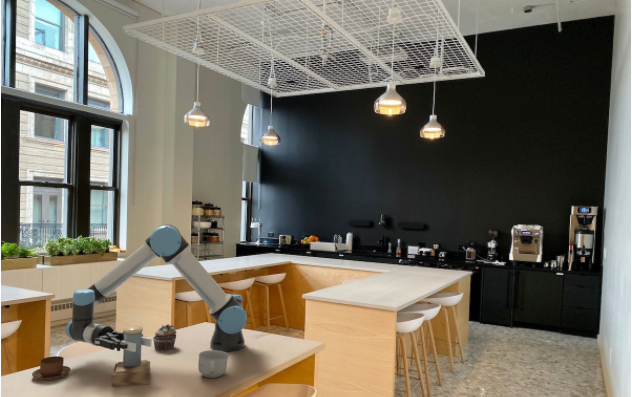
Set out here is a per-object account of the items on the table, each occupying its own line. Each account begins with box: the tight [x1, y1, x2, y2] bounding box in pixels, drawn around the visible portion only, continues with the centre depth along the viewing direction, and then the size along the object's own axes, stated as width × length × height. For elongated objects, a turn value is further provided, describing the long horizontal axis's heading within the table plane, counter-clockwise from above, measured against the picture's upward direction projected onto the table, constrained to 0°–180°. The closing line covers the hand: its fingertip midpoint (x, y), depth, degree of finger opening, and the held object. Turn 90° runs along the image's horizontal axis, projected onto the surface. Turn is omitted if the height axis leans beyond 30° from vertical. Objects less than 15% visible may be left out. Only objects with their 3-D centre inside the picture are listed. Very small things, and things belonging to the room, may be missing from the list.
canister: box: [122, 325, 144, 367], centre depth 166 cm, size 6×6×13 cm
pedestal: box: [110, 359, 151, 388], centre depth 166 cm, size 12×12×5 cm
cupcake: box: [152, 323, 177, 352], centre depth 201 cm, size 10×10×10 cm
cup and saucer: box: [31, 355, 71, 381], centre depth 166 cm, size 12×12×6 cm
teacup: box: [197, 349, 229, 379], centre depth 170 cm, size 14×11×8 cm
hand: (142, 345), depth 163 cm, fingers open, 6 cm apart
